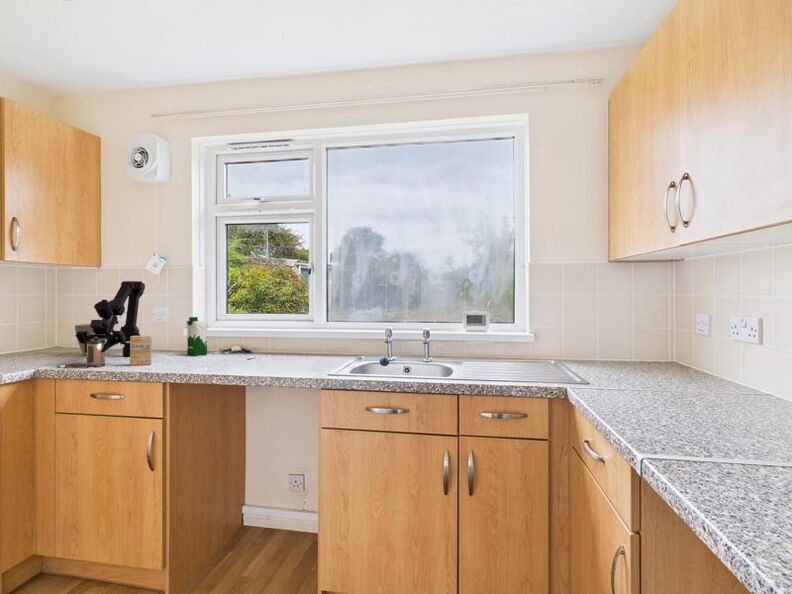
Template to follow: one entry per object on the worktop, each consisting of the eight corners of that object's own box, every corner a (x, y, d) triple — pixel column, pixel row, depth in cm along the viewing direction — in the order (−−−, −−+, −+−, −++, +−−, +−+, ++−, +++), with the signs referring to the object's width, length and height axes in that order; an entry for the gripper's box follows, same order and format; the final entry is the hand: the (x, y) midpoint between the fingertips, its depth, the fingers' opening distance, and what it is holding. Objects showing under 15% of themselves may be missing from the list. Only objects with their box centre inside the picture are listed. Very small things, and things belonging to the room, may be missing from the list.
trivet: (84, 363, 199) (84, 362, 199) (87, 366, 192) (87, 365, 192) (57, 366, 193) (57, 364, 193) (58, 368, 185) (58, 367, 185)
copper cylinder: (91, 365, 195) (91, 335, 195) (108, 365, 196) (108, 335, 196) (80, 368, 186) (80, 337, 186) (98, 368, 187) (98, 337, 187)
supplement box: (129, 366, 192) (129, 336, 192) (131, 364, 196) (131, 335, 196) (151, 364, 196) (151, 335, 196) (152, 363, 200) (151, 334, 200)
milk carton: (184, 355, 227) (184, 317, 227) (200, 353, 235) (200, 316, 235) (194, 356, 222) (194, 317, 222) (210, 354, 230) (210, 316, 230)
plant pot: (67, 356, 226) (67, 325, 226) (97, 352, 240) (97, 323, 240) (86, 357, 221) (86, 326, 221) (115, 353, 234) (115, 324, 234)
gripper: (77, 313, 194) (62, 340, 183) (123, 312, 197) (110, 339, 186) (87, 329, 202) (73, 356, 191) (131, 329, 205) (119, 355, 194)
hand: (94, 351), depth 190 cm, fingers closed on copper cylinder, 7 cm apart
